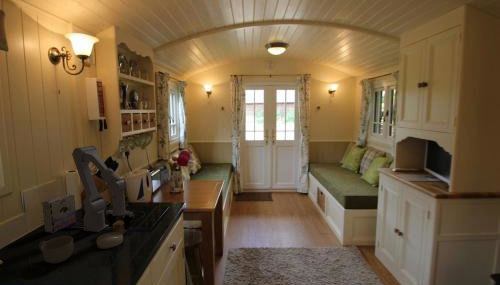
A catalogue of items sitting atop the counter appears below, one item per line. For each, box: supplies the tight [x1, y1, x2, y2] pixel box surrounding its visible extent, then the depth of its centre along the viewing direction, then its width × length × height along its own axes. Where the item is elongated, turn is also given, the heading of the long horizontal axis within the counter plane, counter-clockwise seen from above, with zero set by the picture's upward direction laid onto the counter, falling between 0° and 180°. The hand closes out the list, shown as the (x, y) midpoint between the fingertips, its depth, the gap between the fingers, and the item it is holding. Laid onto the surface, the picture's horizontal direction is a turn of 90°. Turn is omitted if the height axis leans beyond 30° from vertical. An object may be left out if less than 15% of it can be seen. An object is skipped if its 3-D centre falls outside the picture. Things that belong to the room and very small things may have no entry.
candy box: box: [41, 193, 78, 234], centre depth 142 cm, size 14×6×16 cm, turn 164°
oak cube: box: [112, 220, 129, 234], centre depth 137 cm, size 5×5×5 cm
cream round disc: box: [96, 231, 124, 249], centre depth 126 cm, size 11×11×3 cm
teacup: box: [38, 235, 75, 265], centre depth 112 cm, size 14×11×8 cm
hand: (120, 228), depth 137 cm, fingers open, 7 cm apart
